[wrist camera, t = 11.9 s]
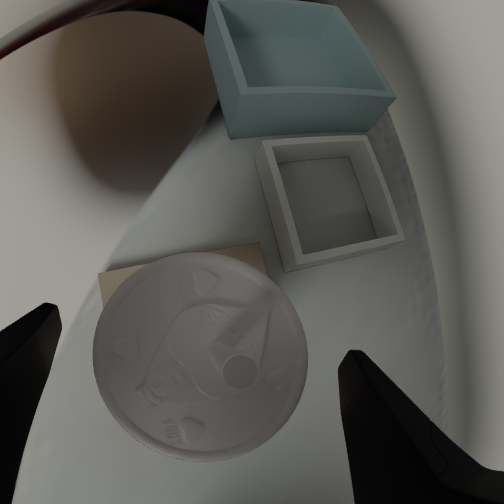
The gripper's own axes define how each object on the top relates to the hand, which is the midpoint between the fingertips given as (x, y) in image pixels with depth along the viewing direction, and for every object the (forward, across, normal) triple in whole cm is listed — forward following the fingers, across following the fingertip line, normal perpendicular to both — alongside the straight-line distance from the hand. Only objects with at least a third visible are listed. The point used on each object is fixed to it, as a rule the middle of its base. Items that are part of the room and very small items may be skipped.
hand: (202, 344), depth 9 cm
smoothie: (+6, 0, +7) cm, 10 cm away
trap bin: (+22, -4, -8) cm, 24 cm away
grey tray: (+14, -7, 0) cm, 16 cm away
